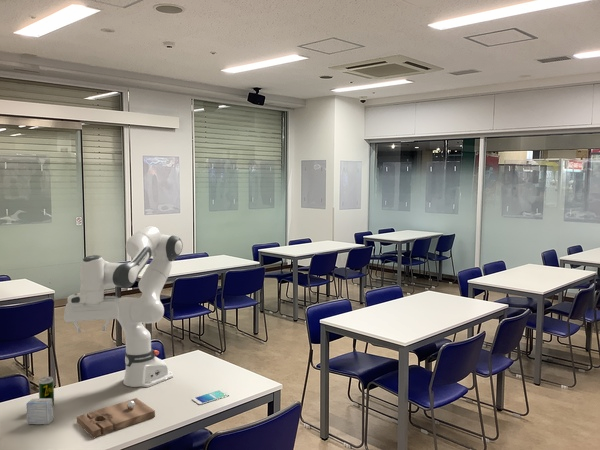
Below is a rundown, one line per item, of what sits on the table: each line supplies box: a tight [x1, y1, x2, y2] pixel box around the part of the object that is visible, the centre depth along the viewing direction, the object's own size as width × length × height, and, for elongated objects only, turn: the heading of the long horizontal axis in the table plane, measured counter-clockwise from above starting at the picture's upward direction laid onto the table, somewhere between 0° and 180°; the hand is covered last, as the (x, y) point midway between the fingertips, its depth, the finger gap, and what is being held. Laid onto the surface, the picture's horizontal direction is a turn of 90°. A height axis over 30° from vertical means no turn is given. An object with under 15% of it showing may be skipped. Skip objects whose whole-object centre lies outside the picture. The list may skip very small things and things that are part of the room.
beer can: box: [38, 376, 55, 407], centre depth 204 cm, size 5×5×12 cm
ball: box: [127, 401, 135, 409], centre depth 197 cm, size 3×3×3 cm
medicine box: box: [26, 398, 54, 425], centre depth 191 cm, size 8×4×9 cm, turn 92°
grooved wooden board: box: [76, 397, 156, 439], centre depth 194 cm, size 24×16×2 cm, turn 134°
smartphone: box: [191, 389, 230, 406], centre depth 214 cm, size 8×1×15 cm
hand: (91, 331), depth 199 cm, fingers open, 8 cm apart
